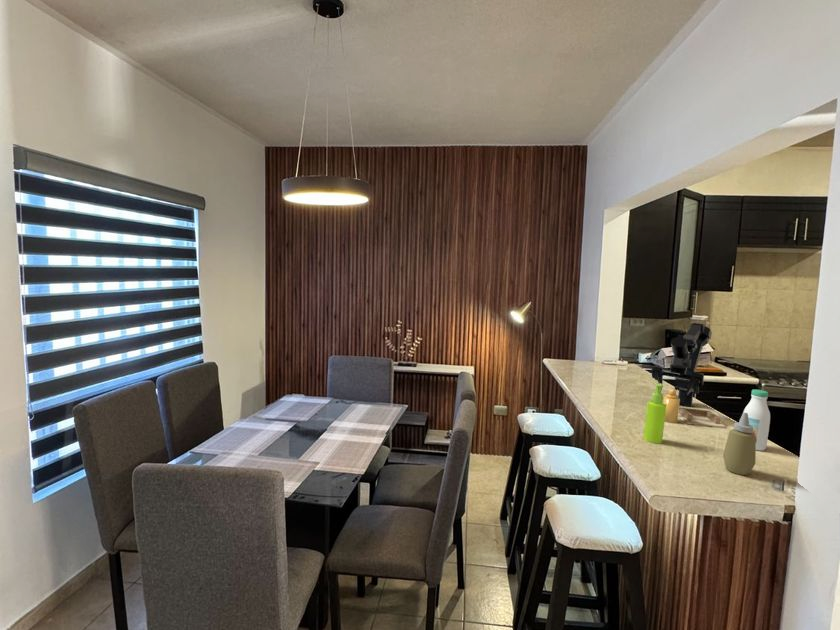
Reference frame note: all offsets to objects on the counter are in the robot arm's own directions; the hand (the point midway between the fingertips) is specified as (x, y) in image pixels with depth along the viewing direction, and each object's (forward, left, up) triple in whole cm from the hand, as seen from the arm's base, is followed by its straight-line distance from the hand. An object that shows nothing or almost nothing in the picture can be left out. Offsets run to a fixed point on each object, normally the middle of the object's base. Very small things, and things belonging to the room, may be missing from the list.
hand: (673, 392), depth 186 cm
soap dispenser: (+30, -16, -11) cm, 35 cm away
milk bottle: (+25, +18, -11) cm, 33 cm away
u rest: (-1, +11, -11) cm, 16 cm away
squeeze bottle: (+50, +2, -11) cm, 51 cm away
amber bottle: (+4, -2, -11) cm, 11 cm away
